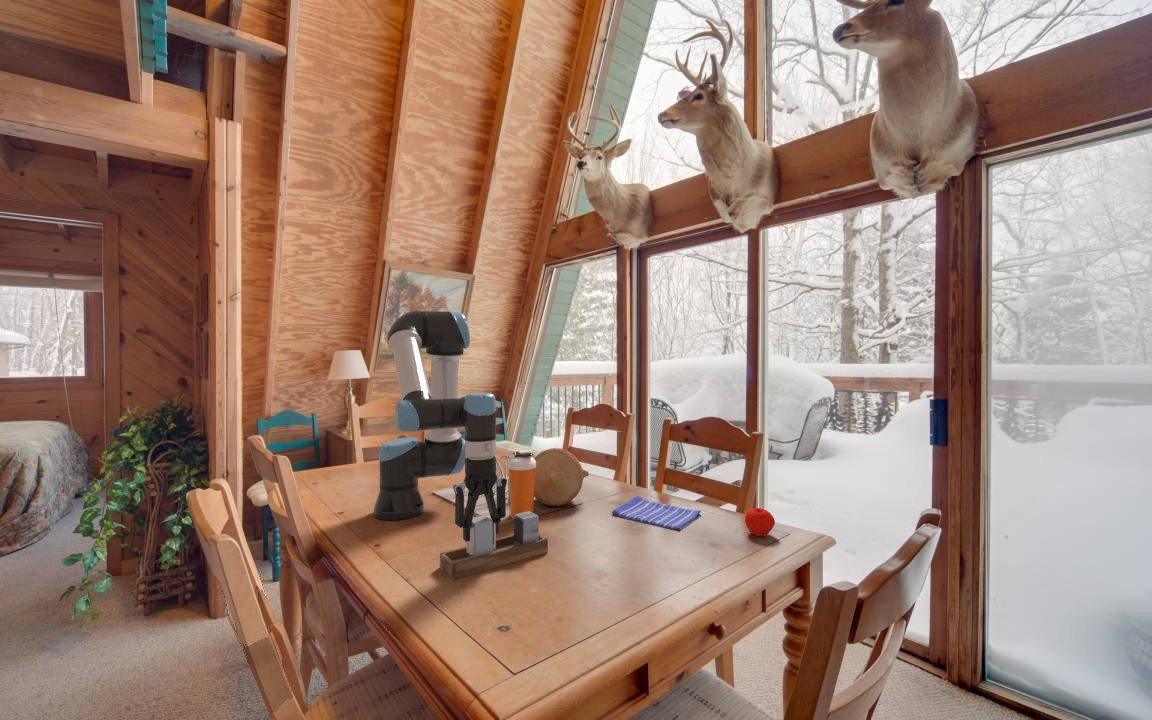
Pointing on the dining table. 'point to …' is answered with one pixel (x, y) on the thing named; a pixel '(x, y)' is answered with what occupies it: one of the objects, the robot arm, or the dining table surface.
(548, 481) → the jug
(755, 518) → the apple
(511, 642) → the dining table surface
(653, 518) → the dish towel
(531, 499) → the shaker bottle
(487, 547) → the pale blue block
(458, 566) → the rail
